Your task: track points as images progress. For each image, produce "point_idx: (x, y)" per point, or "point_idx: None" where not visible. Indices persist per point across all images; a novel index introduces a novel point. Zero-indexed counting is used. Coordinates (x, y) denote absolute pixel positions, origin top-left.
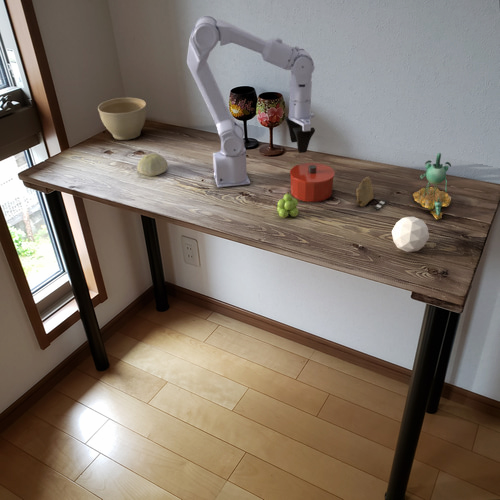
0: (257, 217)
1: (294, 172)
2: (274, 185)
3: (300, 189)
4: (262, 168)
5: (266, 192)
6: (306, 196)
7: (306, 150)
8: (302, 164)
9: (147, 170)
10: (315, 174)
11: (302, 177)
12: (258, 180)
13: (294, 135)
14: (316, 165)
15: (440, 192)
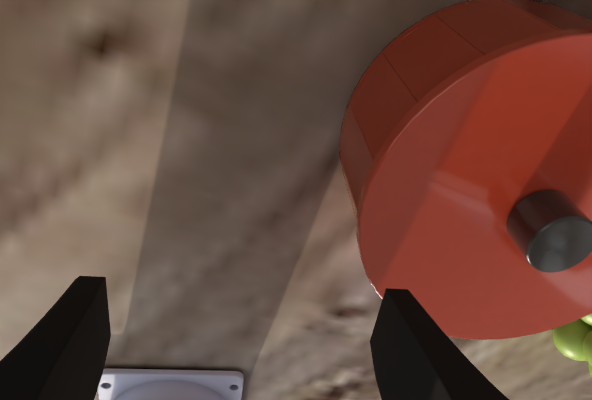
0: (530, 391)
1: (467, 316)
2: (295, 283)
3: None
4: (51, 287)
5: (352, 328)
6: None
7: (417, 302)
8: (375, 237)
9: None
10: (586, 209)
11: (563, 295)
12: (208, 332)
13: (85, 381)
14: (453, 145)
15: None
